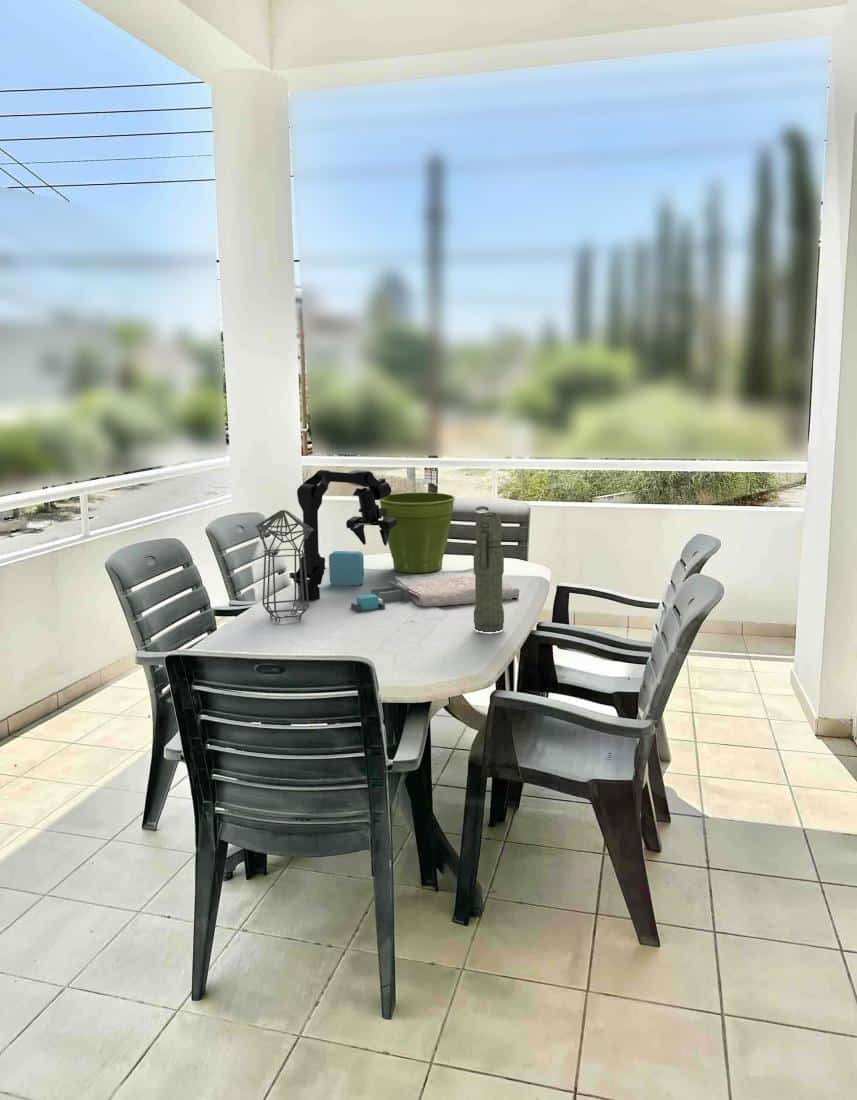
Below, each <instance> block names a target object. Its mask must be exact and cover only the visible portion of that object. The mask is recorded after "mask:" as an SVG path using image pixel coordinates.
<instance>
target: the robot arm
mask: <svg viewBox="0 0 857 1100" xmlns="http://www.w3.org/2000/svg"><path fill="white" fill-rule="evenodd" d="M332 482H333V483H346V484H349V485H351V486H355V487H363V488H356V489H355V491H354V492H353V494H352V496H353V497H354V496H355V497H358V501H359V503H358V504H359V506H360V507H359V509H358V513H361V516H357V515H356V516H355V515H353V516H352V517H351V518H349V519H347V520H346V522H345V525H346V528H347V529H349V530H350V531H352V533H354V535H356V537H357V538H358V540H359V541H360V542H361V544H363V545H366V544H367V542H366V540H367V539H366V536H365V526H379V528H380V529H379V533H380V536H381V539H382V543H383V546H384V547H386V546H387V545H388V536H389V532H390V530H391V528H393V527H394V526H395V525H397V521H396V519H395V518H394V517H387V508H381V507H380V506H379V504H376V503H377V502H376V501H379V500H380V499H382V498H384V497H386V496H389V495H390V494H392V487H391V486H390V484H389V483H388V482H387V480H386V478H383V477H382V478H379V479H377V478H376V477H375V476H374V474H373V471H371V470H360V469H359V470H357V469H356V470H352V471H347V472H343V471H332V470H327V469H319V470H317V471H316V472H315V473H314V474H313V475H312V476H310V477H309V478H308V479H306V480H305V481H304V482H303V483H302V484H300V486H299V487H298V488H297V490H296V495H297V501H298V504H299V507H300V508H301V510H302V522H304V523H305V524H307V525H308V526H309V527H311V528H312V529H313V531H312V532H311V533H310V535H309V536H308V539H305V542H304V541H303V542H304V550H303V552H304V553H305V561H306V574H307V587H308V600H309V602H314V601H317V600H320V599H321V593H320V589H321V588H320V587H319V586H320V585H322V582H323V581H322V580H323V577H324V574H325V570H326V558H325V557H324V556H321V554H320V552H319V551H320V550H319V515H318V514H319V509H320V507H321V505H322V503H323V497H324V494H325V493H327V491H328V488H329V484H330V483H332ZM383 516H384V517H386V518H384V519H383ZM304 523H303V524H304ZM305 524H304V525H305ZM305 526H306V525H305ZM308 526H306V527H307V528H309V527H308ZM309 532H310V531H308V533H309ZM305 535H306V533H305ZM302 536H304V534H303V535H302ZM301 565H302V578H303V591H304V602H307V597H306V584H305V571H304V558H303V555H302V556H301ZM292 580H293V582H294V583H293V584H295V575H293V577H292ZM296 585H297V597H298V598H296V600H300V601H302V595H301V581H300V567H298V569H297V570H296Z"/></svg>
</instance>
